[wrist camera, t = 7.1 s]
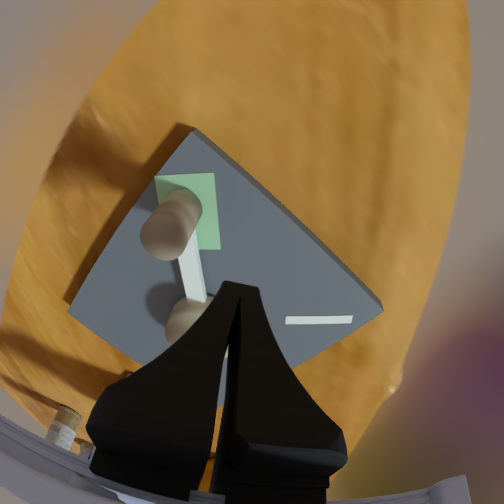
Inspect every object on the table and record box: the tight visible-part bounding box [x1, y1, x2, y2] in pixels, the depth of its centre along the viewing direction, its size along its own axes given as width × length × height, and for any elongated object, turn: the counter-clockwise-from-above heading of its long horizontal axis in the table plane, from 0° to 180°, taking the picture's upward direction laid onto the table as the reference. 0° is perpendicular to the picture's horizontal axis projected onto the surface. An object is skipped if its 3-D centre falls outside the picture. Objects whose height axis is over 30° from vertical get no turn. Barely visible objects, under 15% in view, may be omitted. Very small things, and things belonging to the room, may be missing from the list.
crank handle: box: [140, 189, 228, 358], centre depth 19 cm, size 13×5×4 cm, turn 3°
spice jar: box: [45, 406, 82, 451], centre depth 34 cm, size 5×5×14 cm
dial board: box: [67, 128, 384, 407], centre depth 23 cm, size 20×18×1 cm
